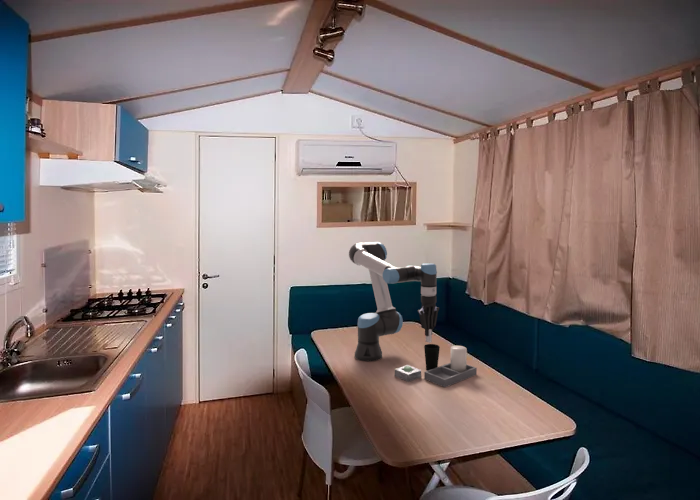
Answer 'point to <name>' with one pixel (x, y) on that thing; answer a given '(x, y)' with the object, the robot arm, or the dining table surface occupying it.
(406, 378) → the grey square socket block
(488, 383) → the dining table surface
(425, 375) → the grey divided tray
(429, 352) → the cup
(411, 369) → the button
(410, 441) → the dining table surface
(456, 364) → the billet
